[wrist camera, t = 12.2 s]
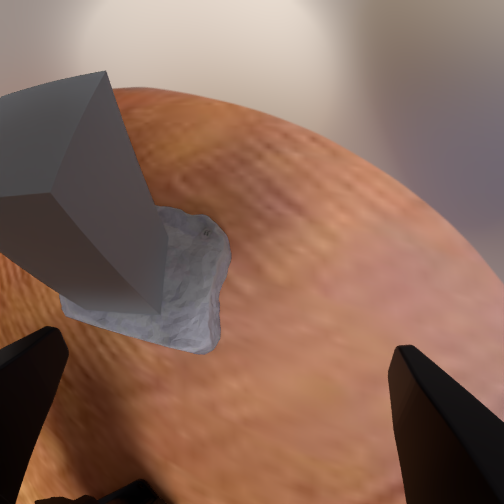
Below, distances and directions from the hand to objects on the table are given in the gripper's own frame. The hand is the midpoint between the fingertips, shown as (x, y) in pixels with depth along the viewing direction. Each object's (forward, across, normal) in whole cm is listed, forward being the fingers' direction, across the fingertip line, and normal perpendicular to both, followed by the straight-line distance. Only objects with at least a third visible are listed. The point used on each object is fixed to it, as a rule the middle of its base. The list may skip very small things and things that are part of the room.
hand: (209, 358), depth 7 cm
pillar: (+10, +8, +3) cm, 13 cm away
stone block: (+14, +8, +6) cm, 17 cm away
